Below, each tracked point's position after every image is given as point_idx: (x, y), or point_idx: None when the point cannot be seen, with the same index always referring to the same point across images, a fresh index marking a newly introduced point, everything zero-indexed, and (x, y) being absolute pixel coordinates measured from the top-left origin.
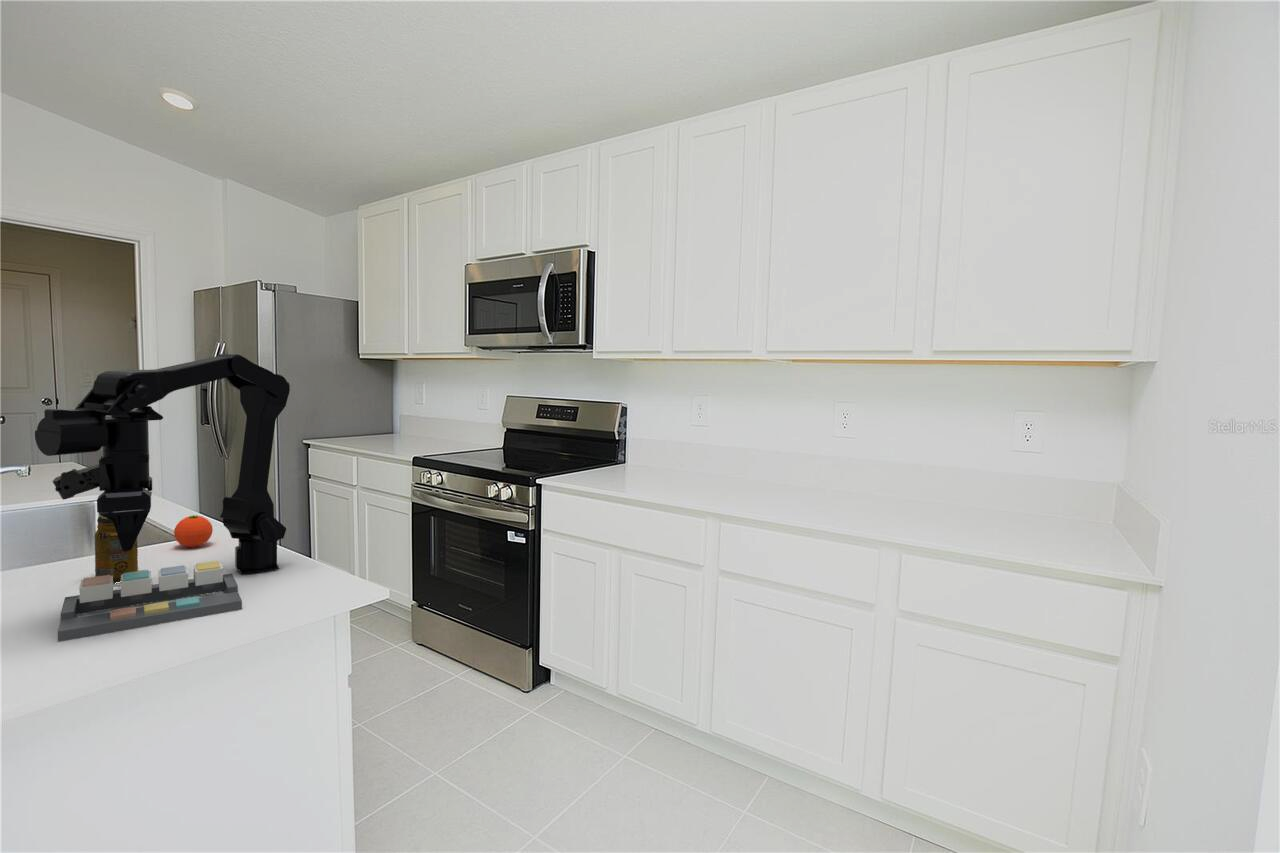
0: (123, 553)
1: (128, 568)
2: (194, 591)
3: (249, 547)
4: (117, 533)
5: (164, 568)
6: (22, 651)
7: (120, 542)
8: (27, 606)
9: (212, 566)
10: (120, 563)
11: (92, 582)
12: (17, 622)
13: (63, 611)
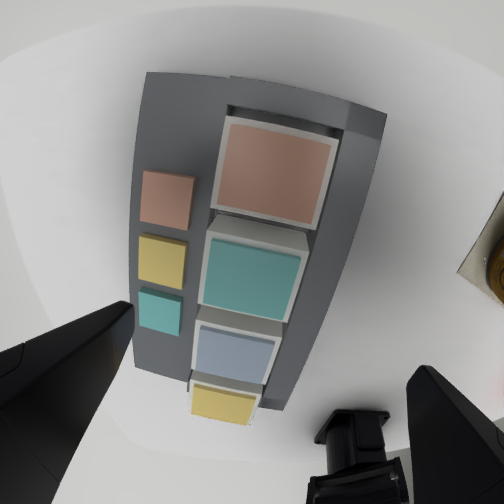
0: None
1: (499, 287)
2: None
3: (342, 459)
4: (31, 342)
5: (263, 350)
6: (149, 26)
7: (79, 318)
8: (466, 82)
9: (203, 408)
10: None
11: (246, 157)
12: (367, 31)
13: (244, 82)
